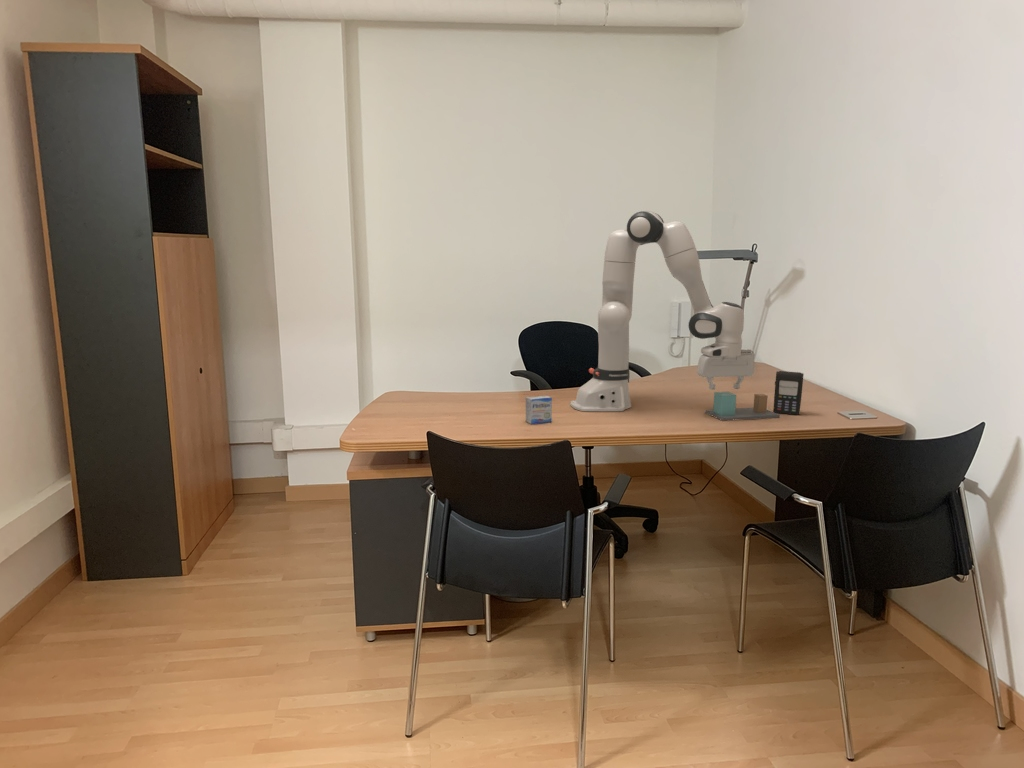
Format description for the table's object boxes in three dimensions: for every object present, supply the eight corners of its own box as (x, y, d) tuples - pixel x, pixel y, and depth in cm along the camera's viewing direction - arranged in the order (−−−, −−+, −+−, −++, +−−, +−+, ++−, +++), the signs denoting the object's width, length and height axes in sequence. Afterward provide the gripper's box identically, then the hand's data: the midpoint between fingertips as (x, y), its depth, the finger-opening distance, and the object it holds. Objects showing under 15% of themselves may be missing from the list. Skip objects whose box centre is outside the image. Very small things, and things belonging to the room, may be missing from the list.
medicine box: (530, 424, 240) (531, 399, 238) (525, 421, 244) (525, 396, 242) (551, 422, 243) (552, 397, 242) (546, 419, 247) (546, 394, 246)
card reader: (772, 413, 258) (775, 372, 255) (773, 410, 261) (776, 370, 258) (799, 415, 254) (803, 374, 251) (800, 413, 258) (803, 372, 255)
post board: (722, 420, 247) (723, 400, 245) (705, 412, 258) (706, 393, 256) (779, 417, 252) (781, 398, 250) (760, 409, 263) (761, 390, 262)
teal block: (720, 415, 250) (722, 395, 248) (713, 411, 255) (714, 392, 253) (735, 414, 251) (736, 394, 250) (726, 411, 256) (728, 391, 255)
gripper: (749, 347, 254) (746, 386, 257) (696, 348, 249) (693, 387, 252) (759, 350, 248) (755, 390, 251) (705, 351, 243) (702, 391, 246)
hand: (724, 388), depth 251 cm, fingers open, 8 cm apart
